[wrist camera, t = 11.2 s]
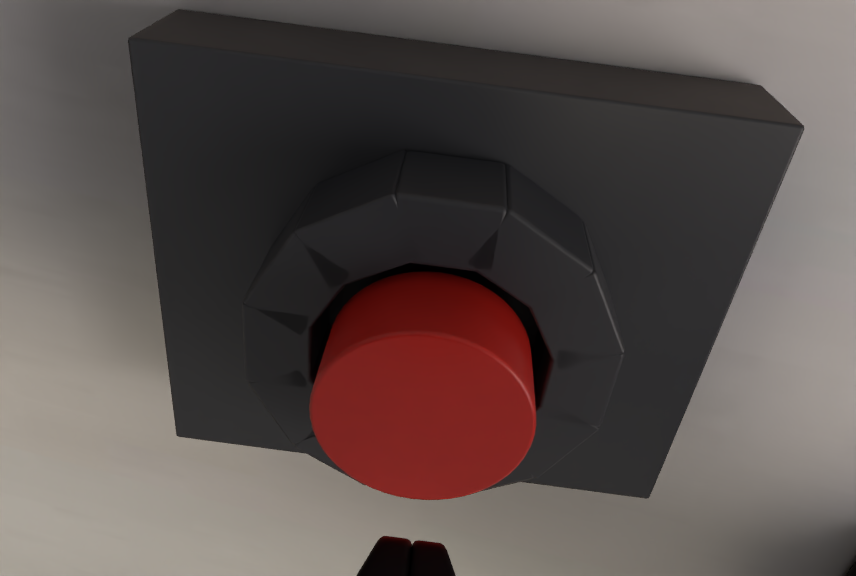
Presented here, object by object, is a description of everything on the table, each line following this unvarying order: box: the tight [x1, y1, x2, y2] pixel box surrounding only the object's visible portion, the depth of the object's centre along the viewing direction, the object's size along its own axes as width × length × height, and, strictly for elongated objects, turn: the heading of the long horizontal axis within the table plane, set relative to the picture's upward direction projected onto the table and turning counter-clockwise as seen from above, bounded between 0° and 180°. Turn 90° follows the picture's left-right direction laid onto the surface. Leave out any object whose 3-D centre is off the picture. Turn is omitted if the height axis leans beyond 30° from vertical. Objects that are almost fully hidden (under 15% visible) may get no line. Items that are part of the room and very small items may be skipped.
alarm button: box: [309, 271, 536, 500], centre depth 12 cm, size 4×4×2 cm
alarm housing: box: [128, 9, 804, 498], centre depth 14 cm, size 11×9×4 cm
